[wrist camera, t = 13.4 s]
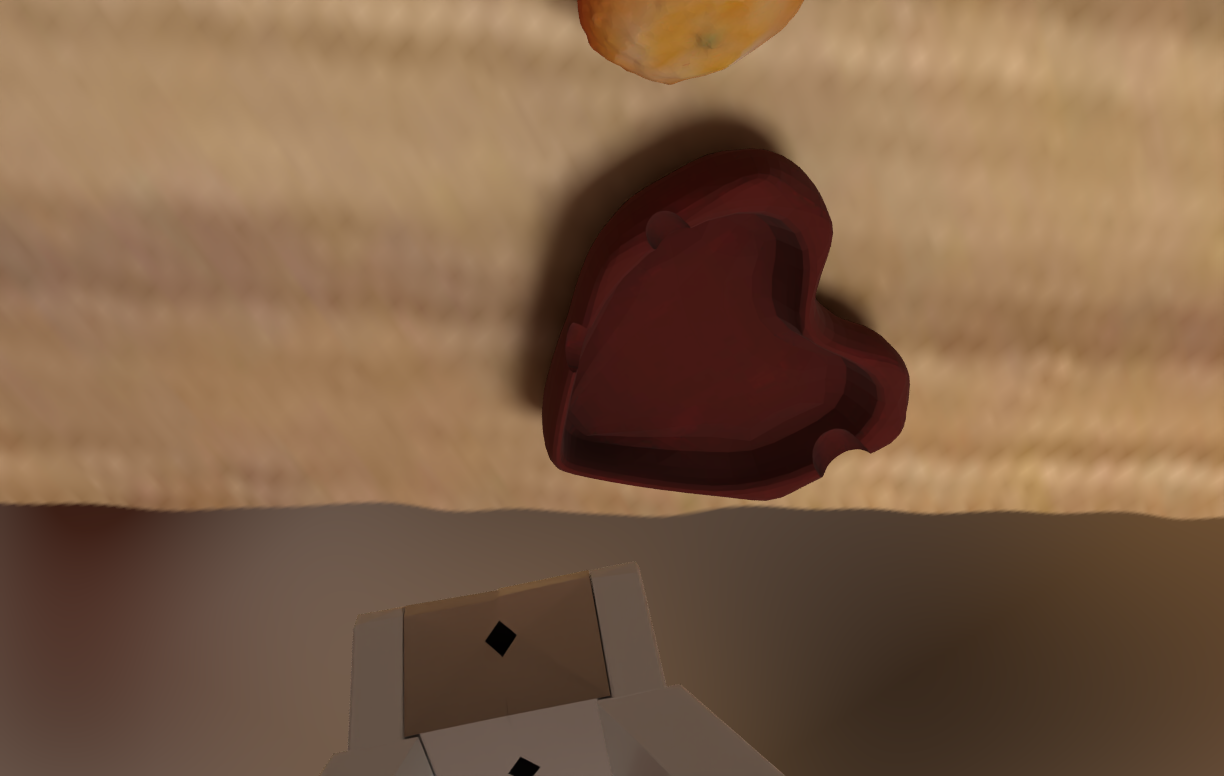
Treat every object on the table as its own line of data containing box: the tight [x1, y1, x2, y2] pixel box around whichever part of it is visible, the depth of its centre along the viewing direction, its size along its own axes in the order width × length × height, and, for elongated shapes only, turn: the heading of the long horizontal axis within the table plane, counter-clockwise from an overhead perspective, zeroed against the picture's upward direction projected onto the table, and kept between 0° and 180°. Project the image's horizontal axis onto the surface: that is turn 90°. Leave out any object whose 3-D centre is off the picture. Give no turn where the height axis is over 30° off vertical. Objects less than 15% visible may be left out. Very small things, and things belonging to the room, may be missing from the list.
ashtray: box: [542, 149, 910, 501], centre depth 51 cm, size 18×16×5 cm
